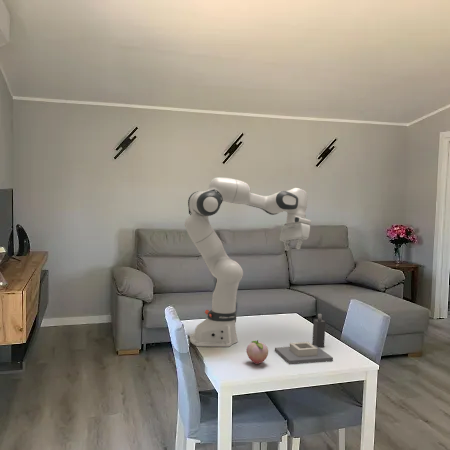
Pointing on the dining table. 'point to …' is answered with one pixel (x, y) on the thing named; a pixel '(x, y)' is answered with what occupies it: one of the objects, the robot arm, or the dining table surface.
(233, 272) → the robot arm
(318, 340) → the plug
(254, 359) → the decorative fruit
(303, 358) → the socket
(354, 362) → the dining table surface
